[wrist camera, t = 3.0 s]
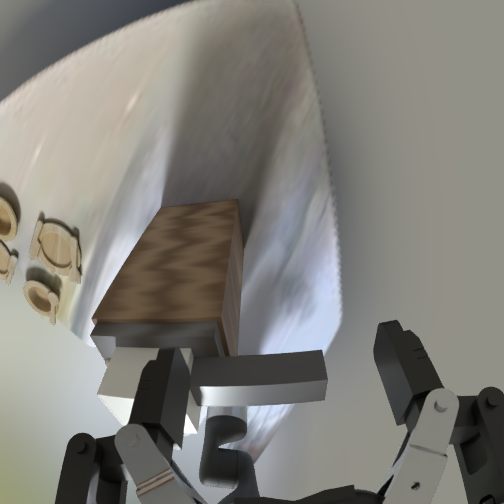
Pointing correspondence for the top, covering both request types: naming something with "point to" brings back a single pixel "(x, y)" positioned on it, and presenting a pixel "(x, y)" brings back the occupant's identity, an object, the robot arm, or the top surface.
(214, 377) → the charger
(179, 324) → the wood-grain topped box
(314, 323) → the top surface
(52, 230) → the tableware set
